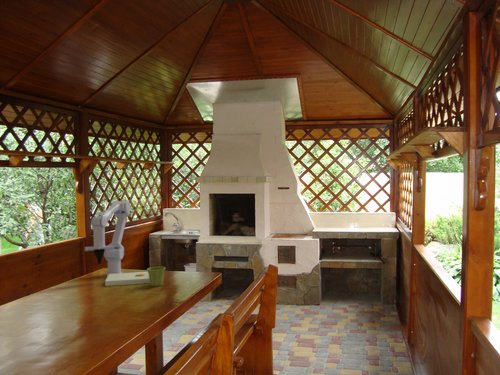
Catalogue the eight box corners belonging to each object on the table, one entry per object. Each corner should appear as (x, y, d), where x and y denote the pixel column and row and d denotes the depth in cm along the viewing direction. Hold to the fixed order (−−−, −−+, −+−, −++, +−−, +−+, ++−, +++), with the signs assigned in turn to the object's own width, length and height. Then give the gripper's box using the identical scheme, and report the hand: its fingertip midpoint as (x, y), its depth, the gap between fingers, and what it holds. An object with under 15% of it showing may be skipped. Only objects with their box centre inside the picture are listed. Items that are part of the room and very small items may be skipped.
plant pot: (143, 286, 212) (143, 269, 212) (153, 282, 221) (152, 266, 221) (160, 287, 210) (159, 270, 210) (168, 283, 219) (168, 267, 219)
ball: (138, 273, 229) (144, 272, 230) (138, 279, 229) (145, 279, 230) (137, 274, 226) (143, 273, 226) (137, 280, 226) (144, 280, 226)
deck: (109, 278, 233) (109, 271, 233) (153, 275, 238) (153, 268, 238) (105, 286, 215) (105, 278, 215) (152, 282, 220) (152, 275, 220)
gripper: (83, 240, 219) (84, 265, 219) (112, 238, 222) (112, 264, 222) (86, 238, 226) (86, 263, 226) (113, 237, 229) (114, 261, 229)
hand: (99, 263), depth 225 cm, fingers closed
